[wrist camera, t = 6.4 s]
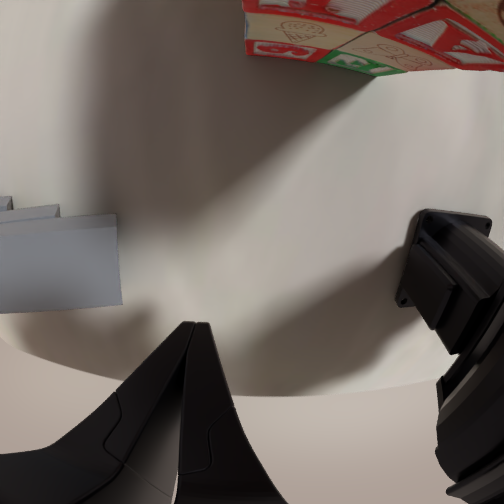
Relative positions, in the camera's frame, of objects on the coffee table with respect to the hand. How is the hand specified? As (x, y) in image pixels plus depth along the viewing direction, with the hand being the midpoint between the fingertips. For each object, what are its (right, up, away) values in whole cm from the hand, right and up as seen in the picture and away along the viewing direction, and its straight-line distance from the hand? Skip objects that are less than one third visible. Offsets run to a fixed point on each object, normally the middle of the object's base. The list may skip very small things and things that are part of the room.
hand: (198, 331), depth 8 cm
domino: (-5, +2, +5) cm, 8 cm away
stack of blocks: (+5, +20, -3) cm, 21 cm away
